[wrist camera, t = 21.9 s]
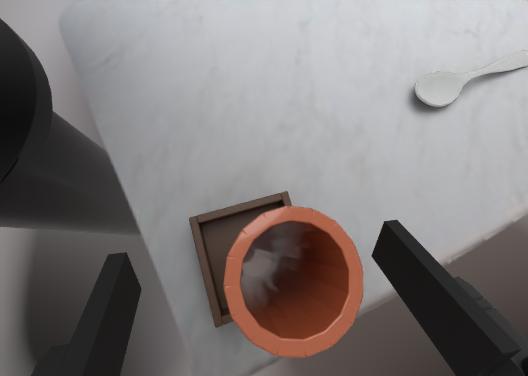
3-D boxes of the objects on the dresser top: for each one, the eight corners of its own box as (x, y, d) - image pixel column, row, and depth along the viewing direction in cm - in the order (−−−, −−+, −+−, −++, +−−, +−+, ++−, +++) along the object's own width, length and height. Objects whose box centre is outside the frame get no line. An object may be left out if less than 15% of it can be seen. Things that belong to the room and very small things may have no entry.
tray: (216, 317, 20) (215, 328, 18) (193, 220, 22) (188, 217, 19) (308, 284, 22) (318, 290, 19) (280, 196, 23) (287, 190, 21)
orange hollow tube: (234, 289, 20) (247, 383, 7) (220, 237, 21) (208, 228, 8) (284, 272, 21) (383, 325, 8) (269, 222, 22) (336, 191, 8)
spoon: (398, 86, 28) (409, 77, 26) (523, 42, 32) (538, 32, 31) (416, 118, 27) (428, 111, 26) (541, 69, 32) (557, 60, 30)
